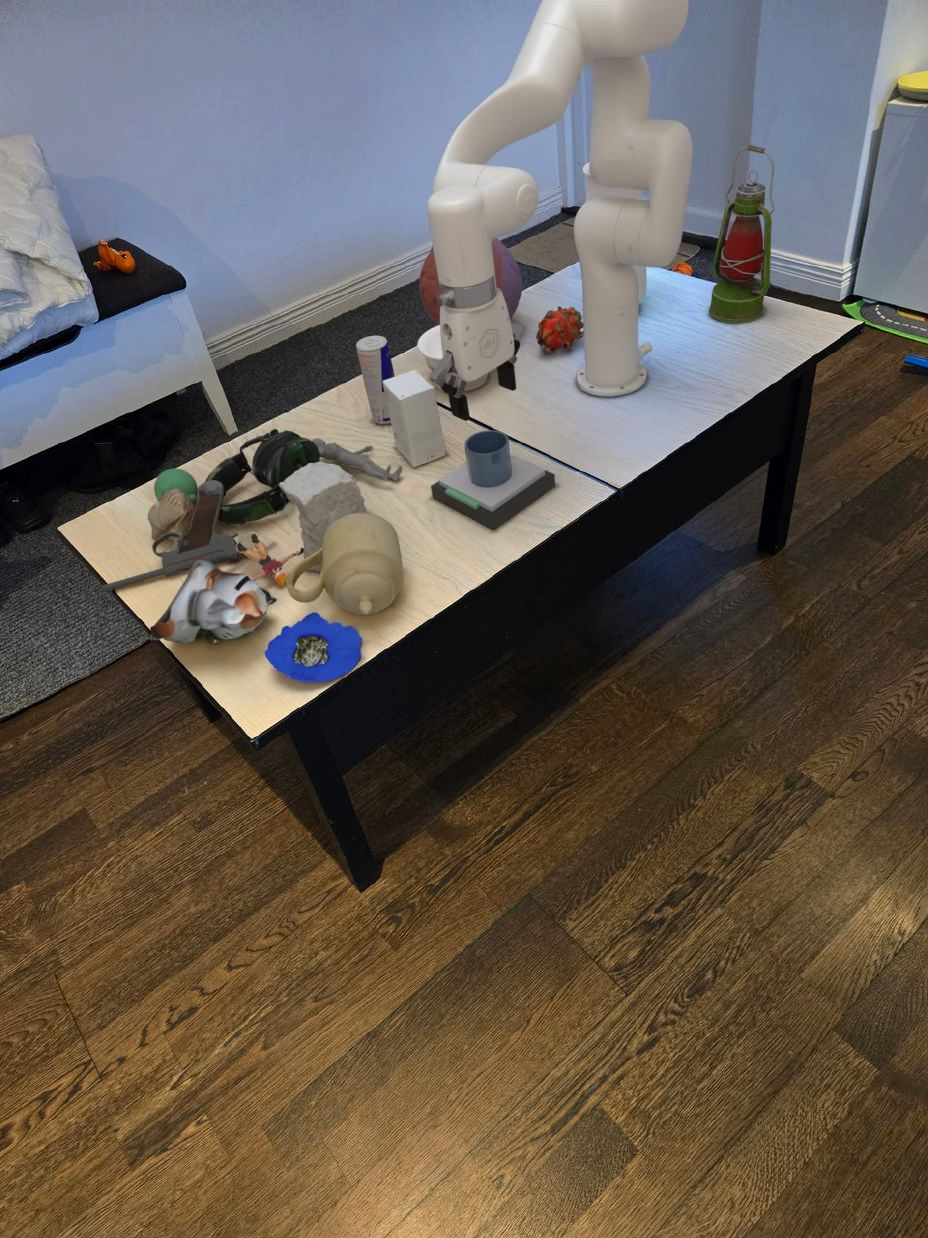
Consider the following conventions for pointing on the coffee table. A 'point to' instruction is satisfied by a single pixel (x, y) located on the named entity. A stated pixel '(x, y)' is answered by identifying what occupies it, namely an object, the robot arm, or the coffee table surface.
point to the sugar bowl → (355, 565)
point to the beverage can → (376, 374)
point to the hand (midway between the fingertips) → (484, 402)
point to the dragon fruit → (560, 329)
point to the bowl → (440, 355)
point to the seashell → (171, 514)
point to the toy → (315, 649)
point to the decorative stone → (321, 501)
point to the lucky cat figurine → (212, 606)
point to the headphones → (263, 474)
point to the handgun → (192, 540)
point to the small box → (414, 417)
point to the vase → (602, 191)
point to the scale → (493, 493)
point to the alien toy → (176, 484)
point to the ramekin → (488, 458)
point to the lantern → (743, 253)
